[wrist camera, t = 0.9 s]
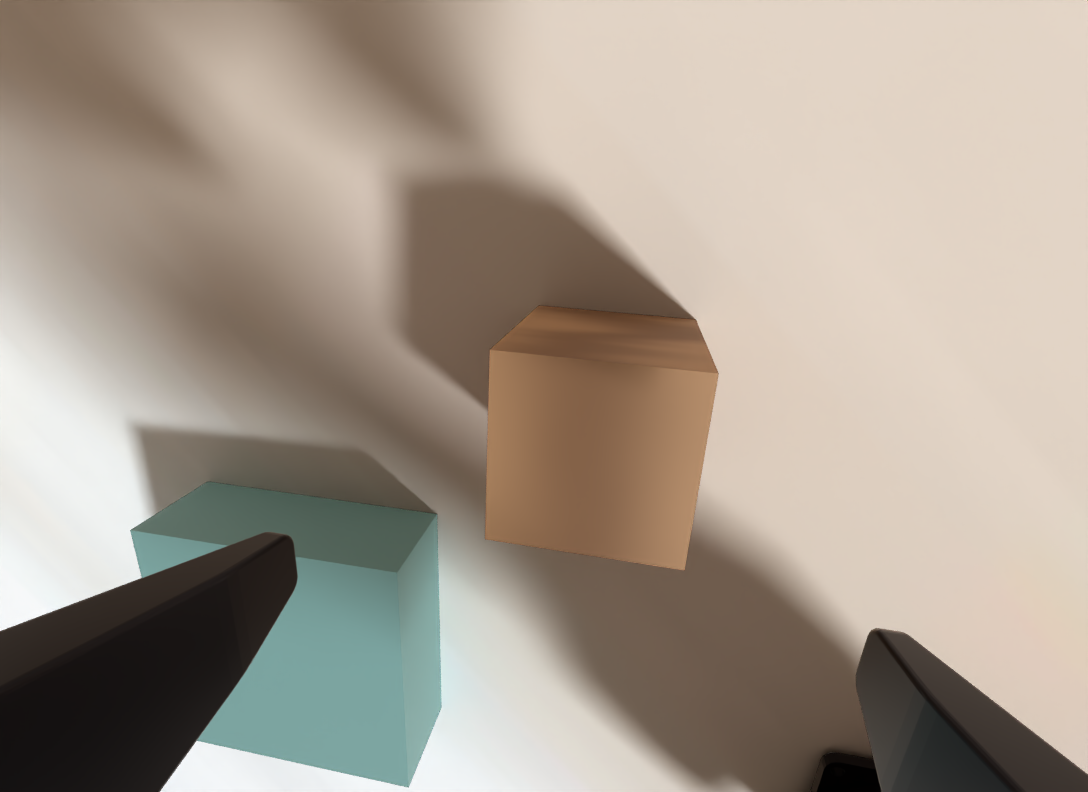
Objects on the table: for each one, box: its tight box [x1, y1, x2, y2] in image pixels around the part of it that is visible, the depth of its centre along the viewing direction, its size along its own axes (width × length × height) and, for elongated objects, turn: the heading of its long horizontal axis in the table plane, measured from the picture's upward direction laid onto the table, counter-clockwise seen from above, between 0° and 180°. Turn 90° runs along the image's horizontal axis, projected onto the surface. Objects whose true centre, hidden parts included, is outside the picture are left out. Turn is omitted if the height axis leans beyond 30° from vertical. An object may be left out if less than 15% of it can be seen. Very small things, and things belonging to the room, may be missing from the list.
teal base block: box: [130, 482, 441, 787], centre depth 22 cm, size 10×10×4 cm
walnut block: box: [485, 305, 719, 571], centre depth 16 cm, size 5×5×6 cm
